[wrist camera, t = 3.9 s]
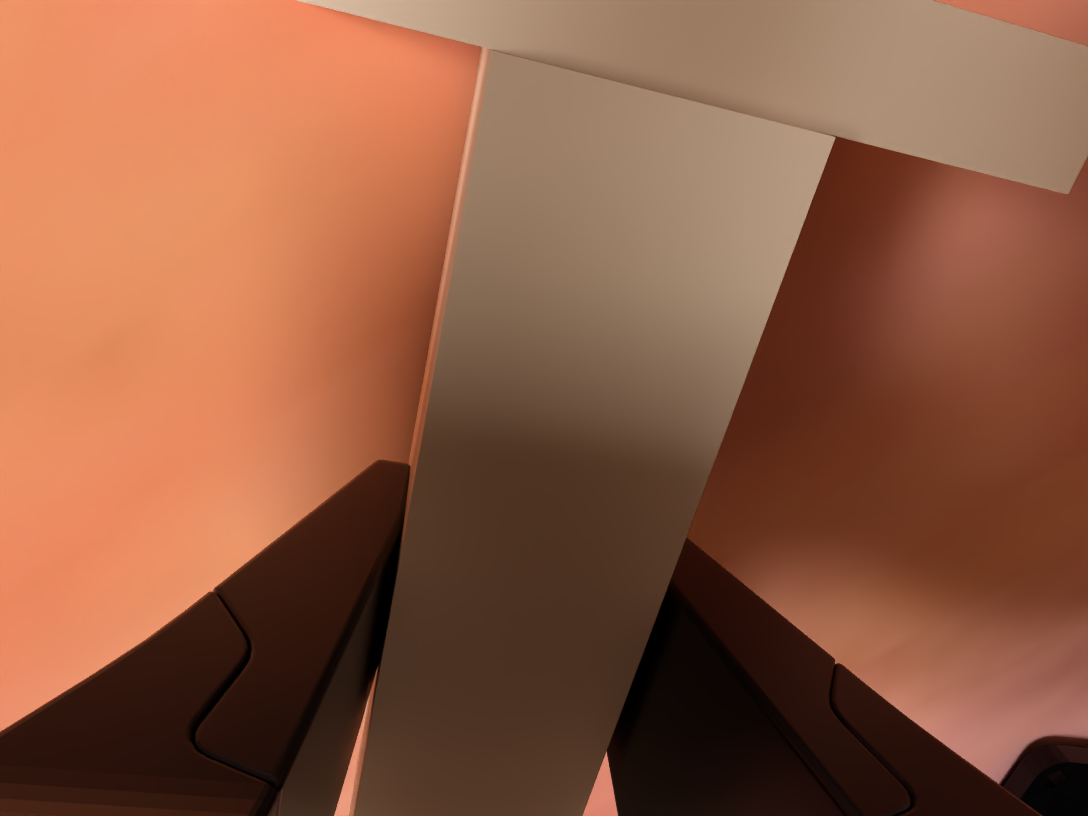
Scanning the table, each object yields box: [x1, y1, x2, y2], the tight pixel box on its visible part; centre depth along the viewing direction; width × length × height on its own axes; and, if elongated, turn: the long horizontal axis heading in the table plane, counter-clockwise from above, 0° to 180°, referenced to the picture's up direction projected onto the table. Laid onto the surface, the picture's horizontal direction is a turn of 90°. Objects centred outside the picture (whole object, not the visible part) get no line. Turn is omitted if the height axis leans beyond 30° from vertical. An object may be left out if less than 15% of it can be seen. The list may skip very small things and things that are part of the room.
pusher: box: [297, 0, 1088, 816], centre depth 9 cm, size 7×11×4 cm, turn 167°
